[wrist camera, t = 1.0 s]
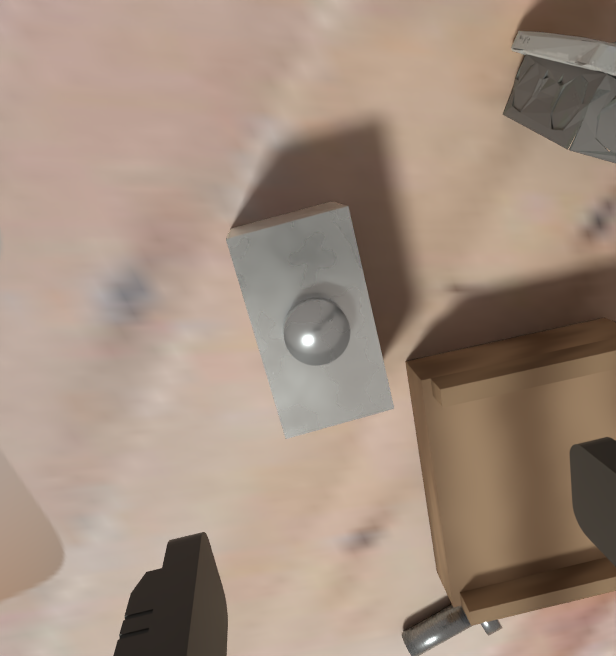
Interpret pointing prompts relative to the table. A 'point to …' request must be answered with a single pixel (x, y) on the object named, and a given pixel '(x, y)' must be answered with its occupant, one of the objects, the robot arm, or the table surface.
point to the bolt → (441, 629)
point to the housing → (311, 317)
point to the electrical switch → (567, 91)
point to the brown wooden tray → (513, 465)
